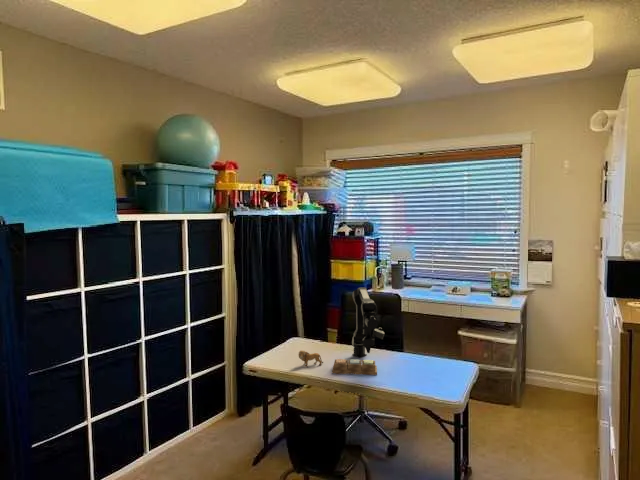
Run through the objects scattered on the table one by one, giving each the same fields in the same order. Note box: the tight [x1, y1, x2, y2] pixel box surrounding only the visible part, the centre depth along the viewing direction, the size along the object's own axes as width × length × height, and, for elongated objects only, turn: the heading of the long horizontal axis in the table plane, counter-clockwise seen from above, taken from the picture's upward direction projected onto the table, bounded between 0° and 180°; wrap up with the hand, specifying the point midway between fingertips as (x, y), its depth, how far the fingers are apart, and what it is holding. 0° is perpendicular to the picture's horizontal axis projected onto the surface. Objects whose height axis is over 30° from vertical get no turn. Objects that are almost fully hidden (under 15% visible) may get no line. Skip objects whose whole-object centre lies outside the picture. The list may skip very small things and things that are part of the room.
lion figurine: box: [298, 350, 324, 367], centre depth 251 cm, size 15×5×9 cm, turn 108°
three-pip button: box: [335, 358, 347, 364], centre depth 242 cm, size 5×5×2 cm
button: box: [349, 359, 360, 364], centre depth 242 cm, size 5×5×2 cm
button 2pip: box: [363, 359, 374, 365], centre depth 241 cm, size 5×5×2 cm
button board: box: [331, 359, 378, 376], centre depth 242 cm, size 24×10×5 cm, turn 84°
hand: (368, 352), depth 240 cm, fingers closed
